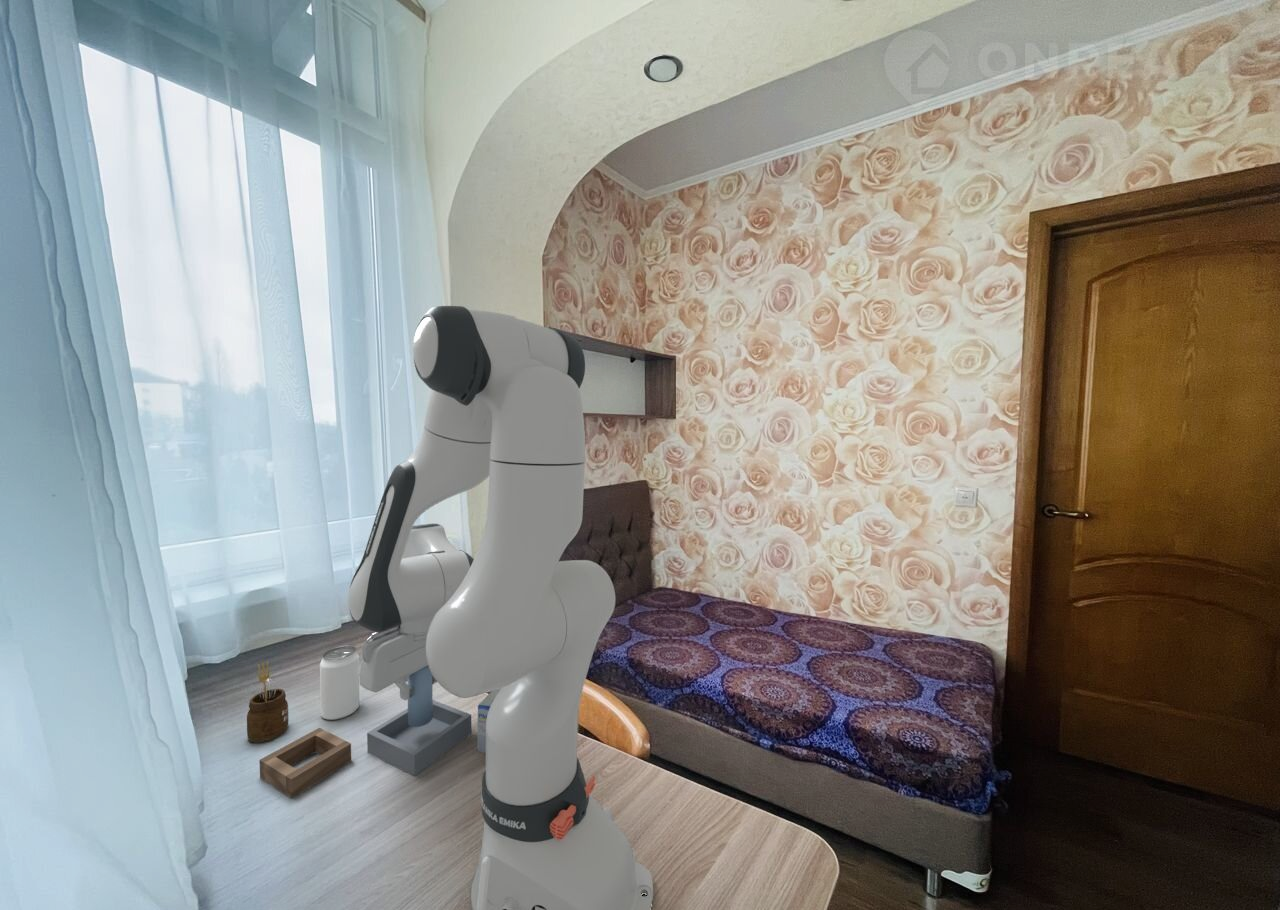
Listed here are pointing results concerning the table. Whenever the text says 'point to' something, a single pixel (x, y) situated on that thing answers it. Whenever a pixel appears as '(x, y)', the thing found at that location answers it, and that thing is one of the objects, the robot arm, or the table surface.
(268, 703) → the utensil holder
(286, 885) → the table surface
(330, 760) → the collar
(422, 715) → the dowel
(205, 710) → the table surface
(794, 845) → the table surface
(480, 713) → the medicine box
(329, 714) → the can
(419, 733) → the tray
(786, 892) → the table surface
